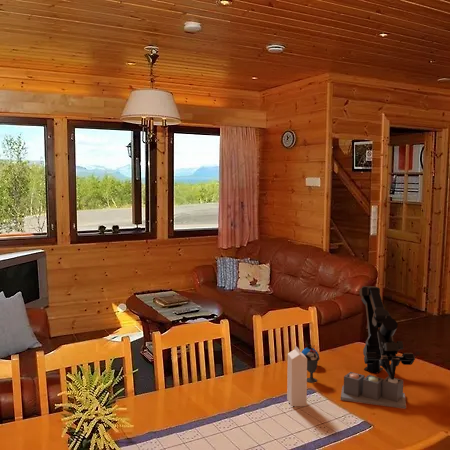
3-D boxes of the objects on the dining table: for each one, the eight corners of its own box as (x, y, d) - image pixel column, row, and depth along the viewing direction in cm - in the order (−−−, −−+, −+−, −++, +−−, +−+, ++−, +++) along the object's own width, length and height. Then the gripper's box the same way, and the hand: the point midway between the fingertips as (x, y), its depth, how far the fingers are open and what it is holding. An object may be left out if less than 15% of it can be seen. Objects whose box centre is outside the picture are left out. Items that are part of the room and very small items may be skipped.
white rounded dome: (389, 386, 190) (389, 377, 190) (399, 389, 188) (399, 379, 187) (386, 389, 187) (386, 380, 187) (395, 392, 185) (395, 382, 184)
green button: (370, 385, 191) (370, 375, 191) (379, 387, 189) (379, 378, 189) (366, 388, 188) (366, 378, 188) (375, 391, 186) (376, 381, 186)
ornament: (319, 363, 226) (320, 342, 225) (317, 370, 217) (317, 348, 216) (301, 361, 228) (301, 340, 227) (298, 367, 220) (298, 346, 219)
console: (342, 388, 199) (343, 369, 198) (404, 396, 191) (405, 376, 191) (340, 400, 188) (341, 380, 187) (405, 408, 181) (406, 388, 180)
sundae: (318, 377, 209) (319, 344, 208) (319, 384, 203) (320, 349, 201) (303, 376, 210) (303, 343, 208) (304, 383, 203) (304, 349, 202)
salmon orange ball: (351, 382, 194) (352, 372, 194) (360, 384, 192) (360, 375, 192) (347, 385, 192) (347, 375, 191) (356, 387, 189) (356, 377, 189)
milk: (301, 399, 189) (302, 344, 187) (306, 406, 183) (307, 350, 181) (286, 400, 188) (287, 345, 186) (291, 407, 182) (292, 350, 180)
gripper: (366, 332, 191) (372, 370, 181) (414, 333, 190) (423, 371, 180) (361, 344, 200) (367, 381, 190) (407, 345, 199) (415, 382, 189)
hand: (392, 379), depth 187 cm, fingers closed, pressing on white rounded dome
